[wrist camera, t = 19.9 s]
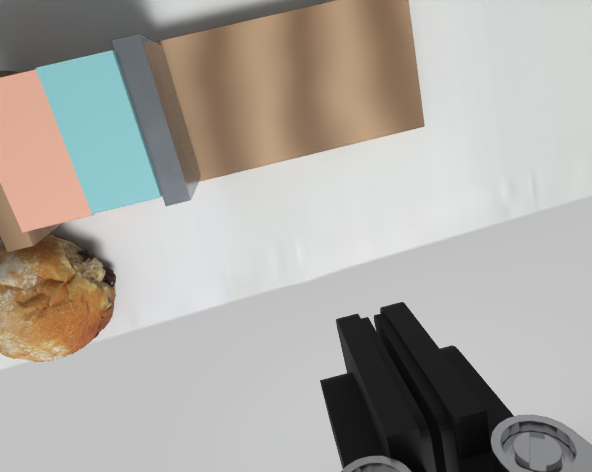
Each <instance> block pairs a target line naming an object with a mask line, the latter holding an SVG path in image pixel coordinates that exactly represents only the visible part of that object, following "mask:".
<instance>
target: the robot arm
mask: <svg viewBox="0 0 592 472" xmlns="http://www.w3.org/2000/svg"><path fill="white" fill-rule="evenodd" d="M380 313H381V314H378V315H374V322H375V327H376V330H375V329H374V327H373V325H372V323H371V322H370V320H369V318H368V317H366V318H363V319H361V318H360V317H359V315H358V314H354V315H351V316H347V317H343V318H339V319H336V323H337V329H338V333H339V338H340V342H341V347H342V351H343V356H344V361H345V365H346V369H347V374H343V375H339V376H335V377H331V378H328V379H324V380H320V382H321V386H322V391H323V395H324V399H325V403H326V407H327V411H328V415H329V419H330V423H331V427H332V431H333V434H334V438H335V442H336V445H337V449H338V453H339V456H340V460H341V464H342V467H343V470H342V471H341V472H592V445H591V444H590V443H588V442H587V441H586V440H585V439H583V438H582V437H581V436H580V435H578V434H577V433H576V432H575V431H574V430H572V429H571V428H569V427H567V426H566V425H564V424H563V423H561V422H559V421H556V420H553V419H551V418H548V417H543V416H538V415H518V416H513V415H512V413H511V412H510V411H509V410H508V409H507V407H506V406H505V405H504V404H503V402H502V401H501V400H500V399H499V398H498V396H497V395H496V394H495V393H494V392H493V391H492V389H491V388H490V387H489V386H488V385H487V383H486V382H485V381H484V380H483V379H482V377H481V376H480V375H479V374H478V373H477V371H476V370H475V369H474V368H473V367H472V365H471V364H470V363H469V362H468V361H467V359H466V358H465V357H464V356H463V355H462V353H461V352H460V351H459V350H458V349H457V348H456V347H455V346H449V347H445V348H441V349H439V348H438V346H437V345H436V344H435V342H434V341H433V340H432V339H431V337H430V336H429V335H428V333H427V332H426V331H425V329H424V328H423V327H422V326H421V324H420V323H419V322H418V320H417V319H416V318H415V317H414V315H413V314H412V313H411V311H410V310H409V309H408V307H407V306H406V305H405V303H403V302H400V303H396V304H393V305H389V306H385V307H382V308H381V309H380Z"/></svg>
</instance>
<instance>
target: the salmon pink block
mask: <svg viewBox="0 0 592 472" xmlns="http://www.w3.org/2000/svg"><path fill="white" fill-rule="evenodd" d="M0 183H1V186H2V188H3V190H4V192H5V195H6V197H7V199H8V201H9V204H10V206H11V208H12V210H13V213H14V215H15V217H16V219H17V222H18V224H19V226H20V228H21V230H22V233H23V232H27V231H31V230H35V229H39V228H43V227H47V226H51V225H55V224H59V223H63V222H67V221H72V220H76V219H80V218H84V217H88V216H92V215H93V214H92V213H91V211H90V208H89V206H88V203H87V201H86V198H85V195H84V193H83V190H82V188H81V185H80V182H79V180H78V177H77V175H76V172H75V169H74V167H73V164H72V162H71V159H70V157H69V154H68V151H67V149H66V146H65V144H64V141H63V138H62V136H61V133H60V131H59V128H58V125H57V123H56V120H55V118H54V115H53V113H52V110H51V107H50V105H49V102H48V100H47V97H46V94H45V92H44V89H43V87H42V84H41V81H40V79H39V76H38V74H37V71H36V70H31V71H27V72H23V73H18V74H14V75H10V76H5V77H1V78H0Z"/></svg>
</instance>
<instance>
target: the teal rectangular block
mask: <svg viewBox="0 0 592 472" xmlns="http://www.w3.org/2000/svg"><path fill="white" fill-rule="evenodd" d="M35 69H36V71H37V74H38V76H39V79H40V81H41V84H42V87H43V89H44V92H45V94H46V97H47V100H48V102H49V105H50V107H51V110H52V113H53V115H54V118H55V120H56V123H57V125H58V128H59V131H60V133H61V136H62V138H63V141H64V144H65V146H66V149H67V151H68V154H69V157H70V159H71V162H72V164H73V167H74V169H75V172H76V175H77V177H78V180H79V182H80V185H81V188H82V190H83V193H84V195H85V198H86V201H87V203H88V206H89V208H90V211H91V213H92V214H95V213H99V212H103V211H107V210H111V209H115V208H119V207H123V206H127V205H131V204H135V203H139V202H143V201H148V200H152V199H156V198H160V197H161V196H162V193H161V190H160V187H159V184H158V181H157V178H156V175H155V172H154V169H153V166H152V163H151V160H150V157H149V154H148V151H147V147H146V144H145V141H144V138H143V135H142V132H141V129H140V126H139V123H138V120H137V117H136V114H135V111H134V108H133V105H132V102H131V99H130V96H129V93H128V90H127V87H126V84H125V81H124V77H123V74H122V71H121V68H120V65H119V62H118V59H117V56H116V53H115V51H113V50H111V51H107V52H102V53H98V54H94V55H89V56H85V57H81V58H76V59H72V60H68V61H63V62H59V63H55V64H50V65H46V66H41V67H37V68H35Z"/></svg>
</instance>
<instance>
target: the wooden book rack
mask: <svg viewBox="0 0 592 472" xmlns="http://www.w3.org/2000/svg"><path fill="white" fill-rule="evenodd" d="M155 43H157V44H159V45H161V46H163V49H164V53H165V56H166V60H167V63H168V66H169V70H170V73H171V76H172V80H173V83H174V87H175V90H176V93H177V97H178V100H179V103H180V107H181V110H182V114H183V117H184V120H185V124H186V127H187V131H188V134H189V137H190V141H191V144H192V147H193V151H194V154H195V158H196V161H197V164H198V168H199V171H200V174H201V178H200V180H199V181H203V180H208V179H212V178H216V177H220V176H224V175H228V174H232V173H236V172H240V171H244V170H248V169H253V168H257V167H261V166H265V165H269V164H273V163H277V162H281V161H285V160H289V159H293V158H298V157H302V156H306V155H310V154H314V153H318V152H322V151H326V150H330V149H334V148H338V147H343V146H347V145H351V144H355V143H359V142H363V141H367V140H371V139H375V138H379V137H383V136H388V135H392V134H396V133H400V132H404V131H408V130H412V129H416V128H420V127H424V118H423V110H422V102H421V95H420V87H419V79H418V71H417V63H416V55H415V48H414V40H413V32H412V24H411V16H410V8H409V1H408V0H335V1H331V2H327V3H322V4H318V5H314V6H309V7H305V8H301V9H296V10H292V11H288V12H283V13H279V14H275V15H270V16H266V17H262V18H257V19H253V20H249V21H244V22H240V23H236V24H231V25H227V26H223V27H218V28H214V29H210V30H205V31H201V32H197V33H192V34H188V35H184V36H179V37H175V38H171V39H166V40H162V41H158V42H155ZM18 73H23V72H12V71H0V78H1V77H5V76H10V75H14V74H18ZM63 223H64V222H63ZM61 224H62V223H59V224H55V225H51V226H47V227H43V228H39V229H35V230H31V231H27V232H23V233H22V230H21V228H20V226H19V224H18V222H17V219H16V217H15V215H14V213H13V210H12V208H11V206H10V204H9V201H8V199H7V197H6V195H5V192H4V190H3V188H2V186H1V183H0V237H1V239H2V241H3V243H4V245H5V247H6V250H7V252H10V251H14V250H18V249H22V248H27V247H31V246H34V245H35V244H36V243H38V242H39V241H40V240H42V239H43V238H44V237H45V236H47V235H48V234H49V233H51V232H52V231H53V230H55V229H56V228H57V227H58V226H60V225H61Z"/></svg>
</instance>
